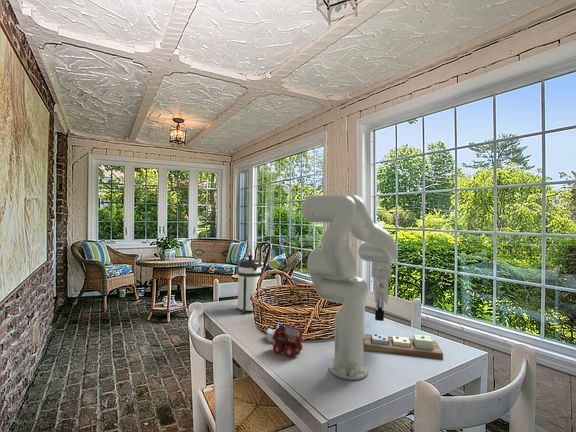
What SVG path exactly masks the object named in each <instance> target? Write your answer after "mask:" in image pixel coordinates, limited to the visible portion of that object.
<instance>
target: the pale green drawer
mask: <svg viewBox="0 0 576 432" xmlns="http://www.w3.org/2000/svg"><path fill="white" fill-rule="evenodd" d="M412 339H413V342H414V345H415V346H414V348H420V349H429V350H431V349H433V339H432V338H431V336H430V335H424V334H415V333H414V334H413V337H412Z"/></svg>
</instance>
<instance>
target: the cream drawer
mask: <svg viewBox="0 0 576 432" xmlns="http://www.w3.org/2000/svg"><path fill="white" fill-rule="evenodd" d="M391 337H392V345H393V346H402V347H410V341H409V339H410V338H409V337H407V336H406V337H405V336H398V335H397V336H396V335H392V336H391Z"/></svg>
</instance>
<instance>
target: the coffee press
mask: <svg viewBox="0 0 576 432" xmlns="http://www.w3.org/2000/svg"><path fill="white" fill-rule="evenodd" d="M247 257H248V258H247V259H242V260H240V261H239V263H238V264H237V267H238V271H237V275H238V279H237V280H238V281H237V285H238V286H237V290H238V292H237V305H236V307H235V309H236V310H239V309H240V310H241V311H242V312H241V314H242V315H247V314H246V313H247V312H248V311H254V310H253V307H252V303H251V301H250V294H251V293H253V292H254V291H256V288H257V283H258V280H259V279H260V278H261V279H262V267H263V264H262V262H261V261H260V260H258V259H255V258H253V255H252V254H248V256H247ZM260 289H262V284H261V285H260Z"/></svg>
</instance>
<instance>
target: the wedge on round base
mask: <svg viewBox="0 0 576 432" xmlns="http://www.w3.org/2000/svg"><path fill="white" fill-rule="evenodd" d="M276 327H277V328H279V324H278V323H277V326H276ZM284 327H285V326H284ZM277 328H276V329H277ZM275 331H276V330H272V329H269V328H268V329H267V330H266V340H267V342H270V343H272V341H273V340H272V338H273V335H274V333H275ZM279 333H280V332H279Z"/></svg>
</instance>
